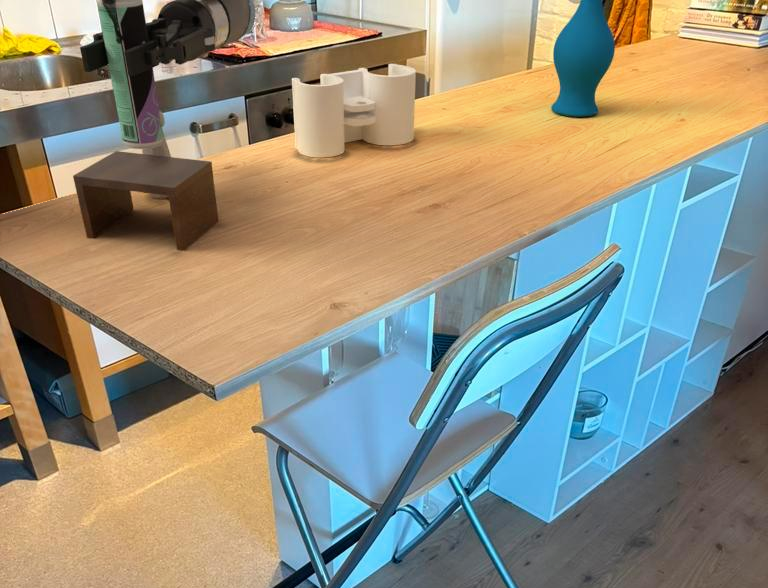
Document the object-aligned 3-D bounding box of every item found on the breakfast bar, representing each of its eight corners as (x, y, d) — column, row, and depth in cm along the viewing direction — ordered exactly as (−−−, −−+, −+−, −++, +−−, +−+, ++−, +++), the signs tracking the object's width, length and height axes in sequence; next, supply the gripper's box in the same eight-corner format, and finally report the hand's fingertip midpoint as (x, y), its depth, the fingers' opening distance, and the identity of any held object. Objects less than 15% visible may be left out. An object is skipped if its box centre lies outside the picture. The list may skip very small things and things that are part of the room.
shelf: (86, 237, 122) (72, 175, 116) (127, 209, 130) (116, 150, 125) (184, 250, 118) (174, 187, 112) (218, 221, 127) (211, 161, 121)
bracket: (314, 161, 150) (312, 89, 142) (289, 147, 156) (285, 77, 148) (423, 140, 161) (426, 72, 153) (395, 128, 167) (397, 62, 159)
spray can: (163, 148, 110) (135, -28, 97) (121, 149, 109) (88, -28, 96) (165, 136, 114) (139, -34, 101) (125, 137, 113) (93, -34, 100)
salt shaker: (137, 195, 135) (121, 111, 127) (162, 185, 139) (149, 103, 130) (161, 203, 133) (147, 117, 124) (187, 193, 136) (175, 109, 128)
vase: (551, 102, 184) (571, -47, 165) (607, 108, 181) (634, -43, 162) (540, 116, 175) (560, -40, 157) (599, 122, 172) (626, -36, 154)
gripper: (253, 61, 118) (178, 101, 101) (139, 51, 122) (49, 88, 105) (248, 1, 113) (169, 32, 96) (130, -7, 117) (34, 21, 100)
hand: (107, 61), depth 101 cm, fingers closed on spray can, 5 cm apart
